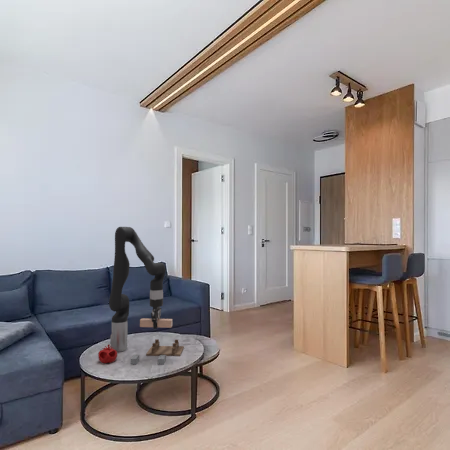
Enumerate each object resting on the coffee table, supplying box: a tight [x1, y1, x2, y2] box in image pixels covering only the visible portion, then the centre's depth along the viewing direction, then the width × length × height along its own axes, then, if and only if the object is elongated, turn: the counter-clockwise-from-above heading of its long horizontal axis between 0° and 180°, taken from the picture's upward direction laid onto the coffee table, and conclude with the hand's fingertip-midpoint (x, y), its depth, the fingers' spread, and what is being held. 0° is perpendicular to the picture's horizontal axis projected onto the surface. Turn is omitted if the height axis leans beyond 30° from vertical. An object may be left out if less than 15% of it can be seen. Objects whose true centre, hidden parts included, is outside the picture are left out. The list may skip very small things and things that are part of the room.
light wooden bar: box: [139, 317, 173, 329], centre depth 194 cm, size 18×4×4 cm, turn 87°
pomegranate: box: [97, 344, 118, 364], centre depth 188 cm, size 10×10×9 cm
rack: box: [145, 338, 185, 357], centre depth 203 cm, size 20×14×6 cm
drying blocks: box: [130, 354, 167, 366], centre depth 186 cm, size 18×6×3 cm, turn 88°
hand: (156, 327), depth 194 cm, fingers closed on light wooden bar, 3 cm apart
